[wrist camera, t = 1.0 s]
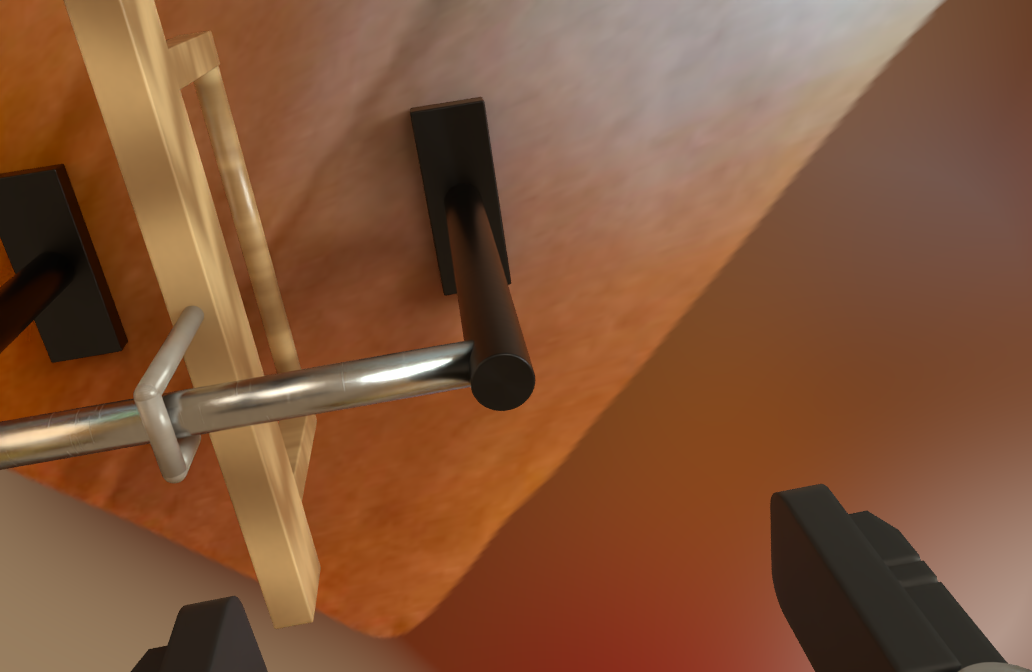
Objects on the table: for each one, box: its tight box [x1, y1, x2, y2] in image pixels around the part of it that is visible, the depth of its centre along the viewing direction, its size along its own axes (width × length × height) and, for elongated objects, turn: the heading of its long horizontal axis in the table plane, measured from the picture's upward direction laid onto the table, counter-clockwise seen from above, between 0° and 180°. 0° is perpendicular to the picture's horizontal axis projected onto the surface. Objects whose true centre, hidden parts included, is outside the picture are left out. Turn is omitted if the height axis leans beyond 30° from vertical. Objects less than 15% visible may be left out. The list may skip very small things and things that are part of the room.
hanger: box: [64, 0, 321, 629], centre depth 28 cm, size 22×1×15 cm, turn 8°
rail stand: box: [0, 97, 535, 470], centre depth 29 cm, size 8×20×18 cm, turn 98°
